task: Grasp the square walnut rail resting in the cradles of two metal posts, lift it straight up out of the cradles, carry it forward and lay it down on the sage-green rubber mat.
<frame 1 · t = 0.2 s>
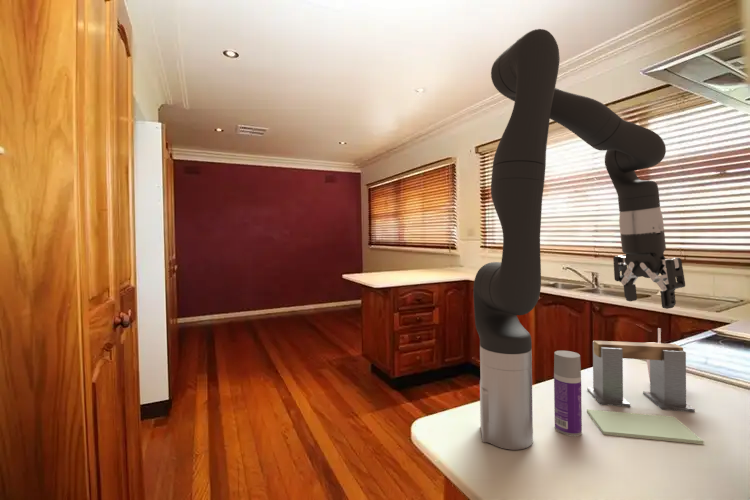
hand: (649, 304, 76), 23 cm above the table, tool pointing down, fingers open, 8 cm apart
container: (568, 430, 69), on the table
post right: (667, 402, 79), on the table
smoothie: (658, 383, 90), on the table
rail: (636, 357, 80), point 10 cm above the table, touching post left, post right
mat: (639, 426, 69), on the table
post left: (607, 397, 82), on the table
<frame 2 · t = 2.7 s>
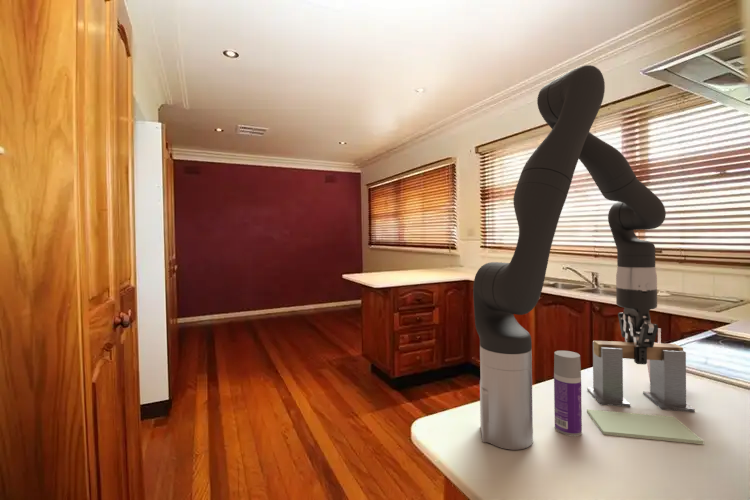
hand: (636, 360, 80), 9 cm above the table, tool pointing down, fingers closed on rail, 3 cm apart
rail: (636, 357, 80), point 10 cm above the table, touching gripper, post left, post right
everything else where it was.
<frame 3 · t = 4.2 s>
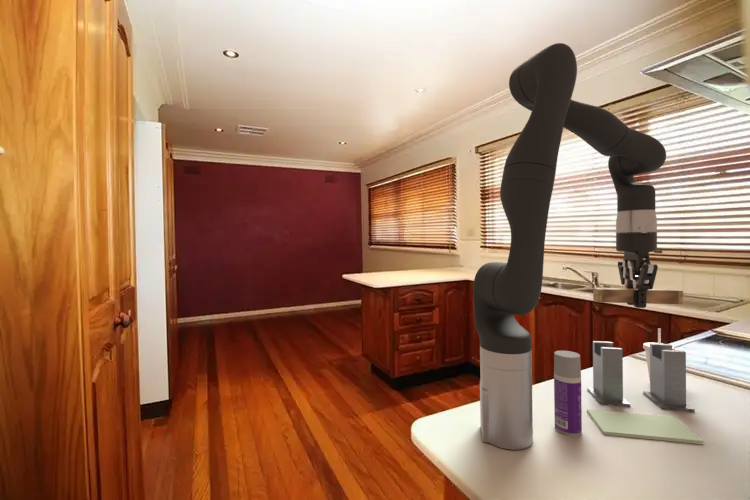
hand: (636, 305, 80), 22 cm above the table, tool pointing down, fingers closed on rail, 3 cm apart
rail: (636, 302, 80), point 23 cm above the table, touching gripper
everything else where it was.
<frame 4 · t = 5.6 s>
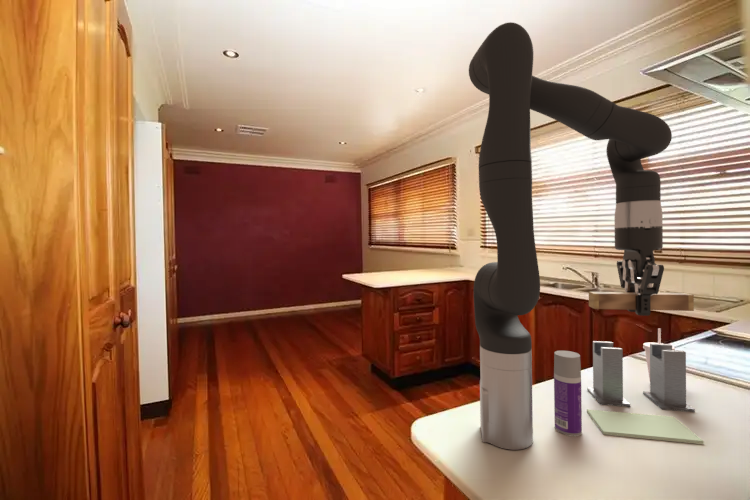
hand: (638, 312, 69), 23 cm above the table, tool pointing down, fingers closed on rail, 3 cm apart
rail: (638, 308, 69), point 24 cm above the table, touching gripper
everything else where it was.
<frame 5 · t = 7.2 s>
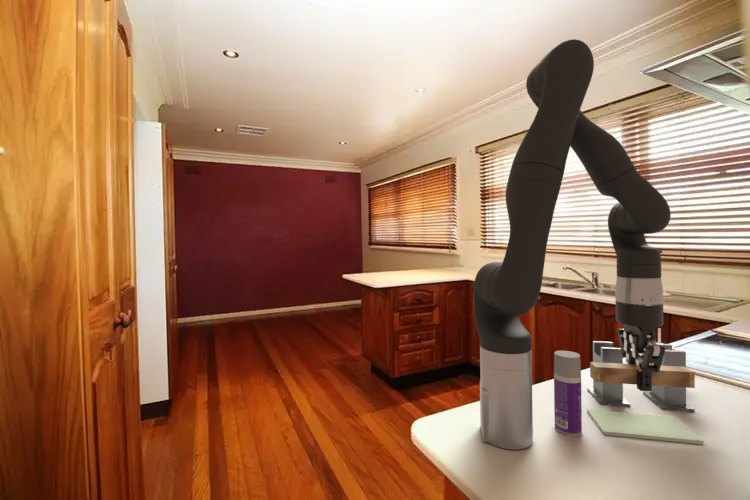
hand: (639, 386, 69), 8 cm above the table, tool pointing down, fingers closed on rail, 3 cm apart
rail: (639, 381, 69), point 9 cm above the table, touching gripper
everything else where it was.
when the fingers open (1 cm above the table, at t = 8.5 s): rail drops 2 cm, resting on mat.
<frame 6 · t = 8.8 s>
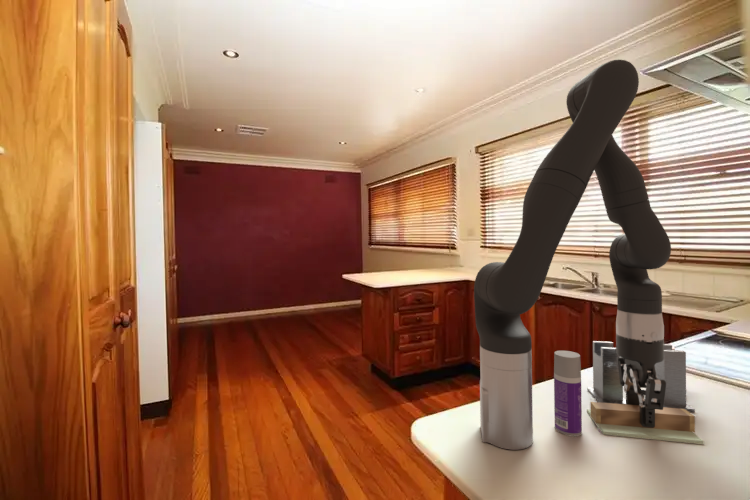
hand: (639, 418, 69), 2 cm above the table, tool pointing down, fingers open, 5 cm apart
rail: (640, 423, 69), point 1 cm above the table, touching mat
everything else where it was.
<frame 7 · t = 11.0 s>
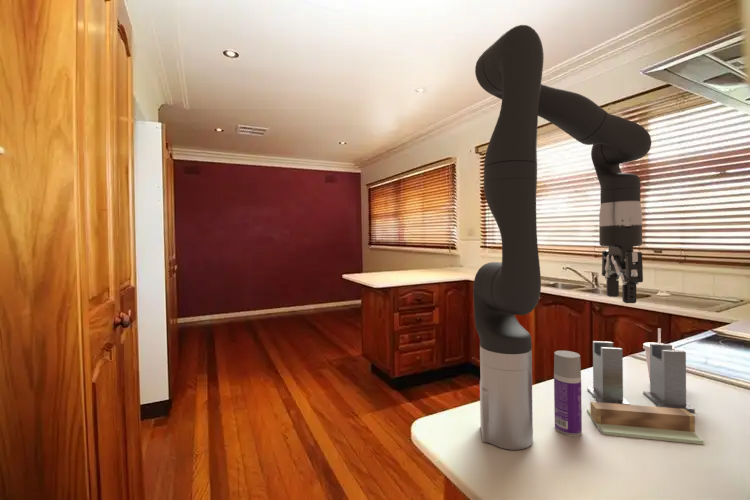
hand: (620, 299, 75), 24 cm above the table, tool pointing down, fingers open, 8 cm apart
nothing on the table moved.
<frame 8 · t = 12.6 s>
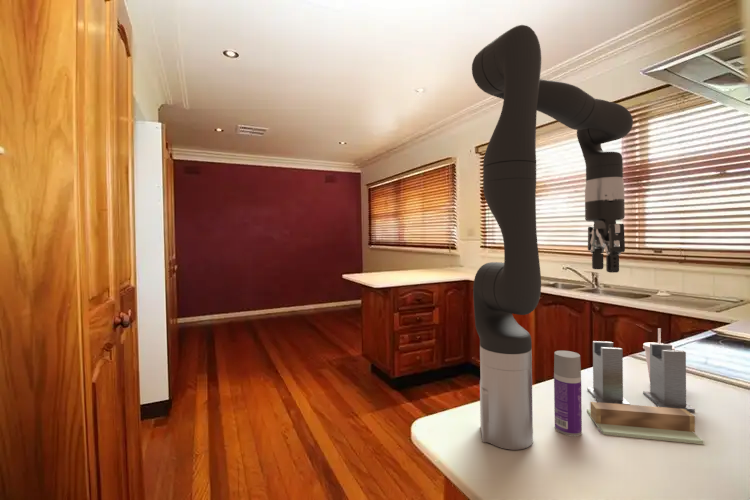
hand: (604, 270, 80), 30 cm above the table, tool pointing down, fingers open, 8 cm apart
nothing on the table moved.
at the end: rail inside the target area (0.0 cm from its centre), point 0.6 cm above the table; the gripper is holding nothing; rail touching mat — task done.
